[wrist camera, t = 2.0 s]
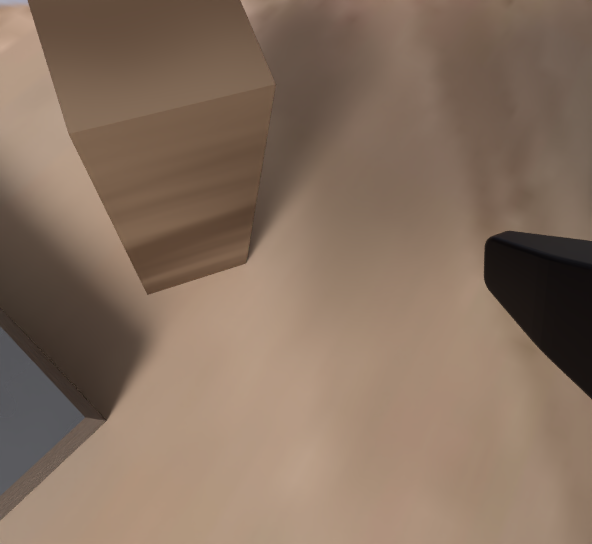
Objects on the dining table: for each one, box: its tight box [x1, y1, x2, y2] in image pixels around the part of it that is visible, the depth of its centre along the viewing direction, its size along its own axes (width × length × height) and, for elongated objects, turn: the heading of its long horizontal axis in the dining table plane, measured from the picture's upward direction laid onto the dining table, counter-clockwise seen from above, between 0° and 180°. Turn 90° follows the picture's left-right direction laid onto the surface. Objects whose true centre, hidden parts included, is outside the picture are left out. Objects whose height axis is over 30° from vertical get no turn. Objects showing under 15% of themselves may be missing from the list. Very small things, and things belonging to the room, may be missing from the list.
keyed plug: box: [28, 0, 276, 295], centre depth 18 cm, size 6×4×12 cm
